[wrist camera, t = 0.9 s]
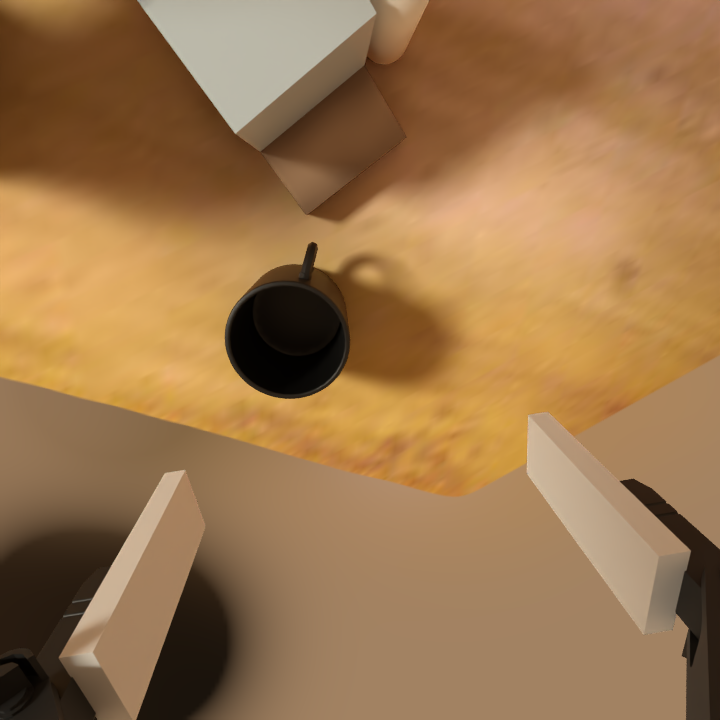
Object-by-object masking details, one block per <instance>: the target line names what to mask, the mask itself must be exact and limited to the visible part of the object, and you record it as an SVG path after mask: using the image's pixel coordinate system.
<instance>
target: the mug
mask: <svg viewBox="0 0 720 720" xmlns="http://www.w3.org/2000/svg"><path fill="white" fill-rule="evenodd" d="M317 250H318V247H317V244H316V243H314V242H311V243H310V244H308V247H307V251H306V254H305V258H304V262H303V264H302V265H296V264H291V265H284V266H280V267H277V268H275V269H273V270H271V271H269V272H267V273H266V274H264V275H263V276H262V277H261V278H260V279H259V280H258V281H257V282H256V283H255V284H254V285H253V286H252V287H251V288H250V289H249V290H248V291H247V292H246V293H245V294H244V296H243V297H242V298H241V299H240V300H239V301H238V302H237V303H236V305H235V306H234V308H233V309H232V311H231V313H230V315H229V318H228V320H227V324H226V329H225V346H226V350H227V354H228V357H229V360H230V362H231V364H232V366H233V367H234V369H235V371H236V372H237V373H238V374H239V376H240V377H241V378H242V379H243V380H244V381H245V382H246V383H247V384H249V385H250V386H251V387H253V388H254V389H256V390H258V391H260V392H262V393H264V394H267V395H270V396H273V397H278V398H285V399H295V398H302V397H306V396H310V395H313V394H315V393H317V392H319V391H321V390H323V389H324V388H326V387H327V386H329V385H330V384H331V383H332V382H333V381H334V380H335V379H336V378H337V377H338V376H339V374H340V373H341V371H342V370H343V368H344V366H345V364H346V361H347V359H348V355H349V349H350V334H349V327H348V319H347V312H346V305H345V301H344V298H343V296H342V294H341V292H340V290H339V288H338V287H337V285H336V284H335V283H334V282H333V281H332V280H331V279H330V278H329V277H328V276H327V275H325V274H324V273H323V272H321V271H319V270H317V269H315V268H314V267H313V266H314V262H315V258H316V254H317Z"/></svg>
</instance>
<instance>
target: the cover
mask: <svg viewBox="0 0 720 720" xmlns="http://www.w3.org/2000/svg"><path fill="white" fill-rule="evenodd" d="M137 1H138V2H139V4H140V5H141V6H142V8H143V9H144V10H145V12H146V13H147V15H148V16H149V17H150V19H151V20H152V21H153V23H154V24H155V25H156V27H157V28H158V30H159V31H160V32H161V34H162V35H163V36H164V38H165V39H166V40H167V42H168V43H169V44H170V46H171V47H172V49H173V50H174V51H175V53H176V54H177V55H178V57H179V58H180V59H181V61H182V62H183V64H184V65H185V66H186V68H187V69H188V70H189V72H190V73H191V74H192V76H193V77H194V79H195V80H196V81H197V83H198V84H199V85H200V87H201V88H202V89H203V91H204V92H205V93H206V95H207V96H208V98H209V99H210V100H211V102H212V103H213V104H214V106H215V107H216V108H217V110H218V111H219V113H220V114H221V115H222V117H223V118H224V119H225V121H226V122H227V123H228V125H229V126H230V128H231V129H232V130H233V132H234V133H235V134H236V135H237V136H239V137H240V138H242V139H243V140H244V141H246V142H247V143H249V144H250V145H251V146H253V147H254V148H255V149H257V150H258V151H260V152H261V151H262V150H263V149H264V148H266V147H267V146H268V145H269V144H270V143H272V142H273V141H274V140H275V139H276V138H278V137H279V136H280V135H281V134H282V133H284V132H285V131H286V130H287V129H288V128H290V127H291V126H292V125H293V124H294V123H296V122H297V121H298V120H299V119H300V118H302V117H303V116H304V115H305V114H306V113H308V112H309V111H310V110H311V109H312V108H314V107H315V106H316V105H317V104H318V103H320V102H321V101H322V100H323V99H324V98H326V97H327V96H328V95H329V94H330V93H332V92H333V91H334V90H335V89H336V88H338V87H339V86H340V85H341V84H342V83H344V82H345V81H346V80H347V79H348V78H350V77H351V76H352V75H353V74H354V73H356V72H357V71H358V70H359V69H360V68H362V67H363V66H364V65H365V61H366V57H367V53H368V48H369V44H370V40H371V36H372V31H373V27H374V23H375V19H376V14H377V13H376V11H375V9H374V7H373V6H372V4H371V2H370V0H137Z"/></svg>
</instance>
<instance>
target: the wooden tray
mask: <svg viewBox="0 0 720 720" xmlns="http://www.w3.org/2000/svg"><path fill="white" fill-rule="evenodd" d="M405 138H406V135H405V134H404V132H403V130H402V128H401V127H400V125H399V123H398V122H397V120H396V118H395V117H394V115H393V113H392V112H391V110H390V108H389V106H388V105H387V103H386V101H385V100H384V98H383V96H382V95H381V93H380V91H379V89H378V88H377V86H376V84H375V83H374V81H373V79H372V78H371V76H370V74H369V73H368V71H367V69H366V67H365V66H363V67H362V68H360V69H359V70H358V71H357V72H356V73H354V74H353V75H352V76H351V77H350V78H348V79H347V80H346V81H345V82H344V83H342V84H341V85H340V86H339V87H338V88H336V89H335V90H334V91H333V92H332V93H330V94H329V95H328V96H327V97H326V98H324V99H323V100H322V101H321V102H320V103H318V104H317V105H316V106H315V107H314V108H312V109H311V110H310V111H309V112H308V113H306V114H305V115H304V116H303V117H302V118H300V119H299V120H298V121H297V122H296V123H294V124H293V125H292V126H291V127H290V128H288V129H287V130H286V131H285V132H284V133H282V134H281V135H280V136H279V137H278V138H276V139H275V140H274V141H273V142H272V143H270V144H269V145H268V146H267V147H266V148H264V149H263V150H262V151H261V154H262V155H263V156H264V158H265V159H266V160H267V162H268V163H269V165H270V166H271V167H272V169H273V170H274V172H275V173H276V174H277V176H278V177H279V178H280V180H281V181H282V183H283V184H284V185H285V187H286V188H287V189H288V191H289V192H290V194H291V195H292V196H293V198H294V199H295V201H296V202H297V203H298V205H299V206H300V207H301V209H302V210H303V212H304V213H305V214H306V215H308V214H309V213H311V212H312V211H313V210H314V209H316V208H317V207H318V206H320V205H321V204H322V203H323V202H325V201H326V200H327V199H328V198H330V197H331V196H332V195H334V194H335V193H336V192H337V191H339V190H340V189H341V188H343V187H344V186H345V185H346V184H348V183H349V182H350V181H351V180H353V179H354V178H355V177H357V176H358V175H359V174H360V173H362V172H363V171H364V170H366V169H367V168H368V167H369V166H371V165H372V164H373V163H375V162H376V161H377V160H378V159H380V158H381V157H382V156H383V155H385V154H386V153H387V152H389V151H390V150H391V149H392V148H394V147H395V146H396V145H398V144H399V143H400V142H401V141H403V140H404V139H405Z"/></svg>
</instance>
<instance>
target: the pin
mask: <svg viewBox="0 0 720 720" xmlns="http://www.w3.org/2000/svg"><path fill="white" fill-rule="evenodd" d="M370 2H371V4H372V6H373V7H374V9H375V11H376V13H377V14H376V19H375V23H374V27H373V31H372V36H371V40H370V44H369V48H368V53H367V57H368V58H369V59H370V60H372V61H373V62H375V63H378V64H390V63H393V62H395V61H396V60H398V59H399V58H400V57H401V56H402V55H403V53H404V52H405V50H406V48H407V46H408V44H409V42H410V40H411V37H412V35H413V33H414V31H415V29H416V27H417V25H418V23H419V21H420V19H421V17H422V15H423V13H424V10H425V8H426V6H427V4H428V2H429V0H370Z"/></svg>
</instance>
